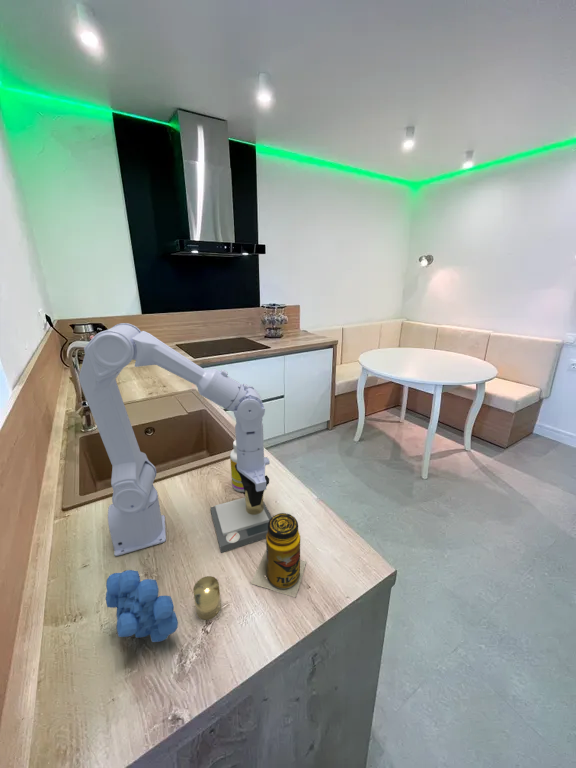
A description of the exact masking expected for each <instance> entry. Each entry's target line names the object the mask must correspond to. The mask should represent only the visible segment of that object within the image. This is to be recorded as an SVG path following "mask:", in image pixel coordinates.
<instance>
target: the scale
mask: <svg viewBox="0 0 576 768" xmlns="http://www.w3.org/2000/svg"><path fill="white" fill-rule="evenodd" d="M263 503H264V509H263V511H262V512H261V513H259V514H256V515H252V514H249V513H248V512H247V511H246V500H245V497H242V498H237V499H234V500H230V501H227V502H222V503H219V504H216V505H214V506H210V513H211V517H212V518H211V519H212V522H213V526H214V529H215V534H216V539H217V542H218V546H219V549H220V553H221V554H223V553H224V552H229V551H231V550H234V549H238V548H241V547H244V546H247V545H249V544H254V543H256V542H258V541H262V540H266V535H267V533H268V522H269V520H270V519H271V518H272V517H273V516H272V515H271V513H270V511H269V509H268V506H267V505H266V503H265V501H264V500H263Z"/></svg>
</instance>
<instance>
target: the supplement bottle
mask: <svg viewBox="0 0 576 768" xmlns="http://www.w3.org/2000/svg"><path fill="white" fill-rule="evenodd" d="M232 447H233V449H232V450H231V451H230V454H229V460H230V472H231V476H230V477H231V484H232V488H233V489H234V490H235V491H236V492H240V493H245V491H244V488H243V484H242V482H241V477H240V475H239V473H238V472H237V471H236V468H235V465H236V464H237V449H236V439H235V440H233V444H232Z"/></svg>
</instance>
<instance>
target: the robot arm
mask: <svg viewBox="0 0 576 768" xmlns="http://www.w3.org/2000/svg"><path fill="white" fill-rule="evenodd" d="M83 351H84V356H83V360H82V364H81V366H80V367H81V368H80V370H79V371H80V372H79V375H78V380H79V384H80V386H81V389H82V391H83V394H84V397H85V399H86V402H87V404H88V407H89V409H90V412H91V414H92V417H93V419H94V422H95V425H96V428H97V430H98V433H99V435H100V438H101V440H102V443H103V446H104V448H105V451H106V453H107V456H108V458H109V461H110V463H111V465H112V467H111V468H112V471H111V479H110V484H111V485H110V486H111V488H112V491H113V492H112V496H111V498H112V499H111V502H112V504H109V506H108V510H107V522H108V524H107V525H108V529H109V533H110V538H111V542H112V547H113V550H114V552H113V553H114V554H113V555H114V557H118V556H121V555H124V554H129V553H132V552H135V551H138V550H141V549H145V548H148V547H153V546H156V545H158V544H159V545H160V544H163V543H164V542H166V541H167V534H166V517H165V515H164V514H162V512H161V507H160V501H159V495H158V491H157V488H155V485H154V481H155V479H156V478H157V473H158V472H157V468H156V466H155V465H154V464H153V463H152V462H151V461H150V460H149V458H148V456H147V454H146V453H145V452H143V451H141V450H140V446H139V443H138V441H137V438H136V434H135V432H134V429H133V426H132V423H131V420H130V417H129V415H128V411H127V409H126V405H125V403H124V400H123V398H122V394H121V392H120V388H119V385H118V383H117V377H118V376H119V375H120V374H121V372H122V371H123V369H124V368H125V367H127V366H128V365H129V364H130V363H131V362H132V360H133V361H135V363H134V368H135V367H136V368H137V367H138V368H140V367H149V366H158V367H160V368H161V369H164V370H165V371H167V372H170V373H172V374H174V375H176V376H177V377H180V378H182V379H183V380H185V381H187V382H189V383H191V384H193V385H195V386H196V388H197V391H198V394H199V395H200V396H202V397H203V398H206V399H207V400H209V401H210V402H212V403H215V404H216V405H218V406H219V407H222V408H224V409H225V410H227V411H229V412H233V415H234V418H235V425H234V428H235V430H234V431H235V440H236V449H237V464H236V465H235V468H236V471H237V472H238V473H239V475H240V477H241V482H242V484H243V488H244V491H245V490H246V491H247V494H248V498H249V502H250V504H251V507H254V506H258V505H260V504H261V501H262V497H263V498H264V492H265V491H266V490H267V487H268V486H269V484H270V478H269V476H268V475H266V466H267V465H270V463H271V462H270V459H269V458H268V457H266V456H265V447H264V446H265V445H264V443H265V442H264V423H263V417H264V416H265V413H266V408H265V406H264V403H263V401H262V398H261V395H260V393H259V391H257V390H256V389H255V388H254V387H253V386H251V385H248V384H246V383H245V382H244V383H243V384H242V383H240V382H238V381H237V380H235V379H234V378H232V377H231V376H228V371H227V370H225V369H223V368H222V369H220V370H219V369H217V368H210V369H204V368H203V367H201V366H200V365H199V364H197V363H195V362H193V361H192V360H191V359H189V358H187V357H186V356H185V355H183V354H181V353H180V352H179V351H177V350H175V349H174V348H172V347H170V345H168V344H166V343H165V342H163V341H161V340H160V339H159V338H157V337H156V336H154V335H152V333H149V332H147V331H145V330H142V331H141V330H140V328H138V326H136V325H134V324H131V323H127V322H125V323H124V322H123V323H122V322H121V323H117V324H116V325H114V326H112V327H111V328H108V329H106V330H103V331H100V332H98V333H96V334H95V335H94V336H93V337H92V338H91V340H90V341H88V343H87V344H86V345H85V346H84V347H83Z"/></svg>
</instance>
